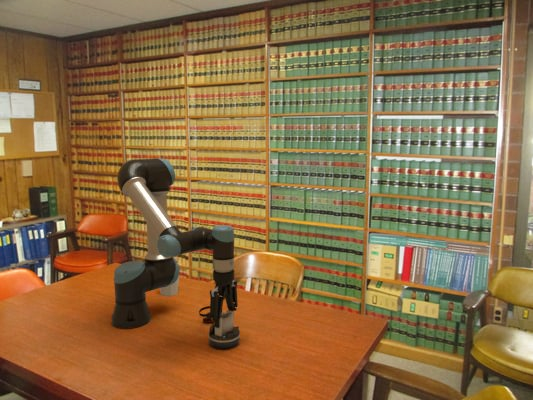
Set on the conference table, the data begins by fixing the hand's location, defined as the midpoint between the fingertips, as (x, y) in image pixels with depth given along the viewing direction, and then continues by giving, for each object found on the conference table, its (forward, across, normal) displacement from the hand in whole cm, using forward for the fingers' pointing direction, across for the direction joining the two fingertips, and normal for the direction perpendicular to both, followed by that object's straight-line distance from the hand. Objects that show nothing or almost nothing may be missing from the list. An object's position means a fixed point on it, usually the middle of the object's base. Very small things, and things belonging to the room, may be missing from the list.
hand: (224, 331), depth 152 cm
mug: (+4, +29, +52) cm, 60 cm away
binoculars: (+4, +13, +16) cm, 21 cm away
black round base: (+4, 0, 0) cm, 4 cm away
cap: (0, 0, 0) cm, 0 cm away
